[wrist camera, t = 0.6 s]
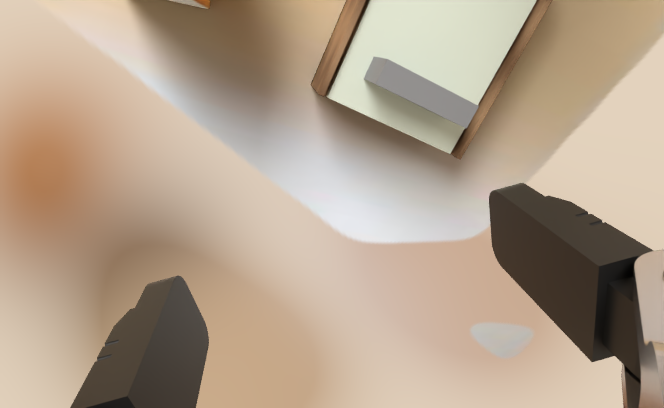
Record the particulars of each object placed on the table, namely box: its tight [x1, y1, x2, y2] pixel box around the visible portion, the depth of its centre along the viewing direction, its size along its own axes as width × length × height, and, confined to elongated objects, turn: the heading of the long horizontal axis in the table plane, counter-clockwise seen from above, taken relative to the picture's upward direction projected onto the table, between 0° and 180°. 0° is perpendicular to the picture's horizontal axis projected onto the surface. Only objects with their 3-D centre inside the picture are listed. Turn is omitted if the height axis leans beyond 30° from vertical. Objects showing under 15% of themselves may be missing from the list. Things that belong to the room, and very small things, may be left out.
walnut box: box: [311, 0, 552, 159], centre depth 29 cm, size 16×12×6 cm
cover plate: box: [326, 0, 537, 154], centre depth 26 cm, size 14×11×4 cm
